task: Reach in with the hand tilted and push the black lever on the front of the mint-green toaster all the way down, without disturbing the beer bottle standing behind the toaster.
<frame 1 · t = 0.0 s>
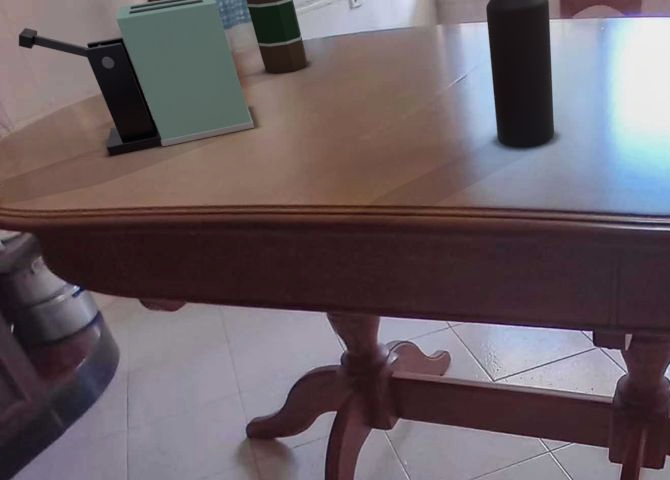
lever bracket: (142, 139, 98), on the table
beer bottle: (287, 68, 124), on the table
toaster: (207, 126, 100), on the table
vinegar: (526, 140, 84), on the table
toaster lever: (73, 49, 90), point 13 cm above the table, hinge at 25.0°
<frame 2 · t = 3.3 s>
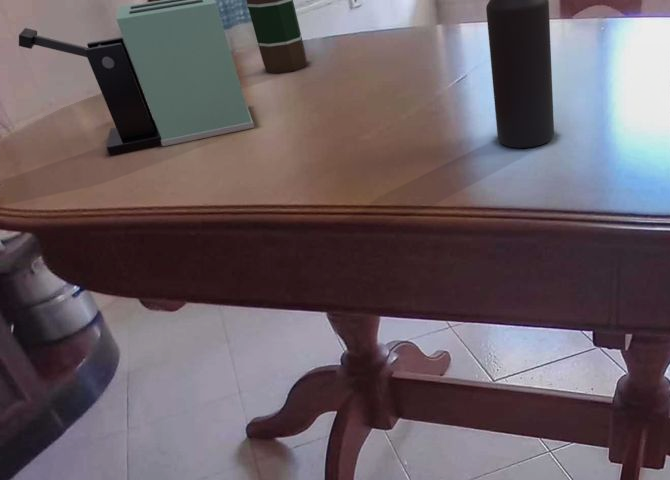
nothing on the table moved.
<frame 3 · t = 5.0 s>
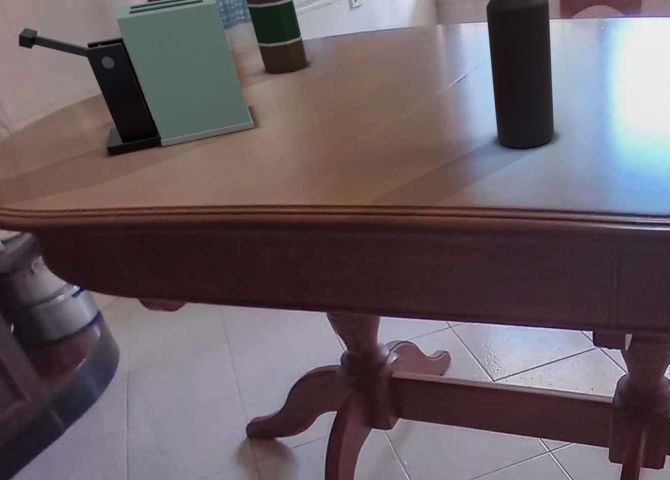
nothing on the table moved.
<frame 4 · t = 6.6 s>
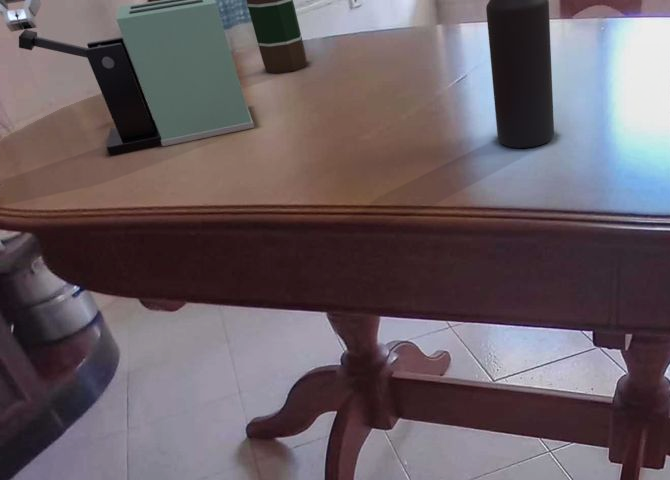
hand: (22, 26, 87), 16 cm above the table, tool tilted 45°, fingers closed
toaster lever: (73, 49, 90), point 13 cm above the table, hinge at 23.8°, touching gripper
everything else where it was.
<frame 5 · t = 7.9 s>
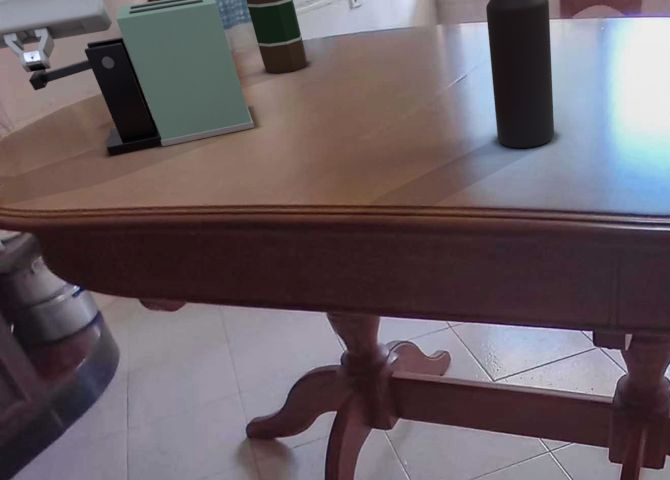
hand: (37, 68, 90), 11 cm above the table, tool tilted 45°, fingers closed
toaster lever: (77, 67, 91), point 11 cm above the table, hinge at -6.8°, touching gripper
everything else where it was.
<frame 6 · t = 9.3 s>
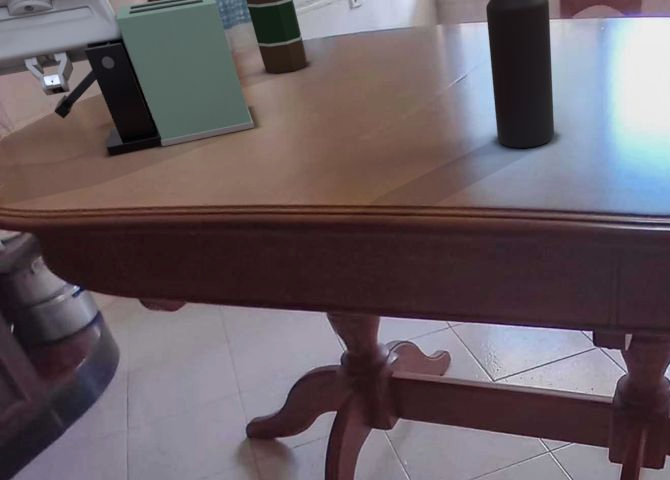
hand: (56, 91, 92), 8 cm above the table, tool tilted 45°, fingers closed
toaster lever: (88, 80, 92), point 9 cm above the table, hinge at -32.5°, touching gripper
everything else where it was.
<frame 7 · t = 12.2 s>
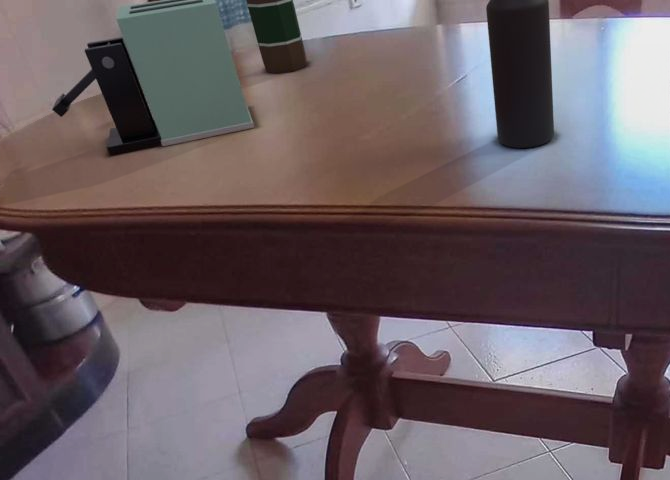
toaster lever: (87, 79, 92), point 9 cm above the table, hinge at -30.8°
everything else where it was.
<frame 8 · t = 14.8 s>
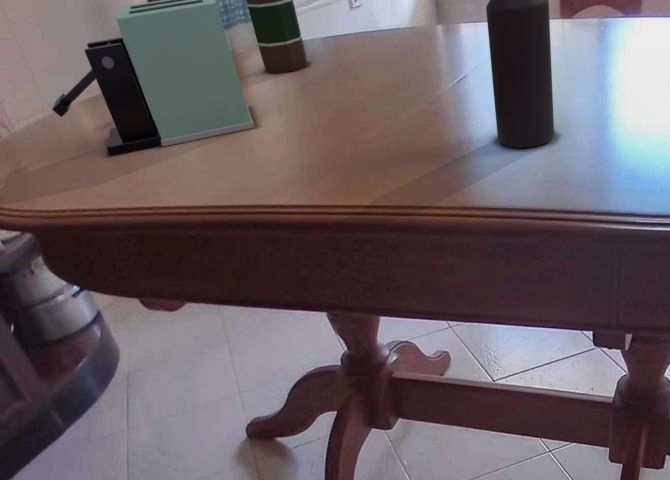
nothing on the table moved.
at the end: toaster lever at -31° (first picture: +25°); beer bottle moved 0.2 cm from its start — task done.
